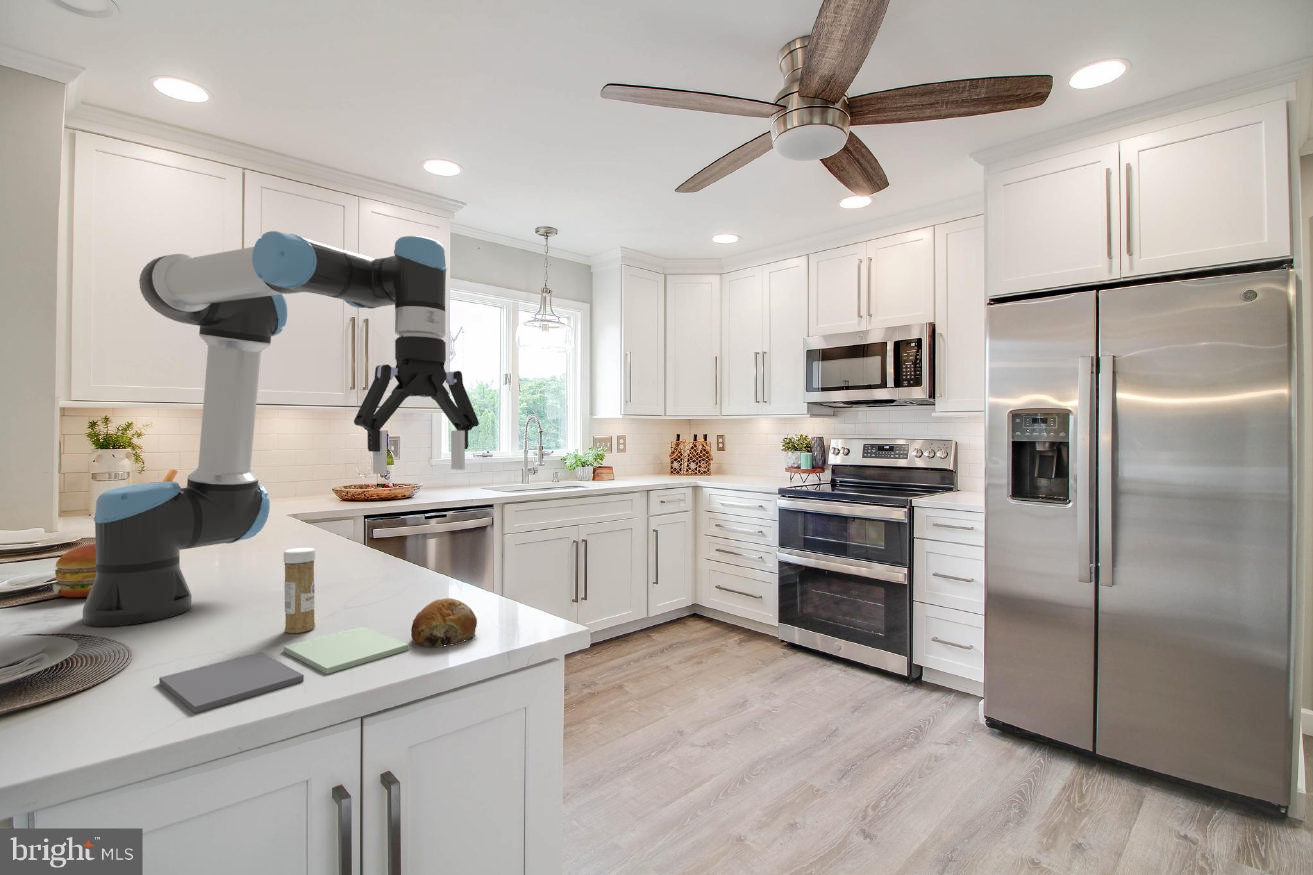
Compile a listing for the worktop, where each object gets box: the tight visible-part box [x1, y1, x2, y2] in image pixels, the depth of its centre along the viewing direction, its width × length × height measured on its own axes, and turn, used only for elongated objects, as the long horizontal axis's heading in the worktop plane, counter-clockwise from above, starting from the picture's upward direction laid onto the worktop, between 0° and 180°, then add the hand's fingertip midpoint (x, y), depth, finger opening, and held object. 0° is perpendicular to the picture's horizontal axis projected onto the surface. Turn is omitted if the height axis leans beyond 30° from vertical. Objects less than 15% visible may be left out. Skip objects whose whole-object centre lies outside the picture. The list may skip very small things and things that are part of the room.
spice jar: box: [283, 547, 316, 634], centre depth 104 cm, size 5×5×14 cm
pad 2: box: [283, 626, 410, 675], centre depth 94 cm, size 14×12×1 cm
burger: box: [52, 543, 96, 598], centre depth 127 cm, size 13×14×10 cm
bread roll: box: [410, 597, 478, 648], centre depth 100 cm, size 10×10×8 cm
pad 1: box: [158, 651, 305, 714], centre depth 82 cm, size 14×12×1 cm
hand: (421, 471), depth 99 cm, fingers open, 13 cm apart
